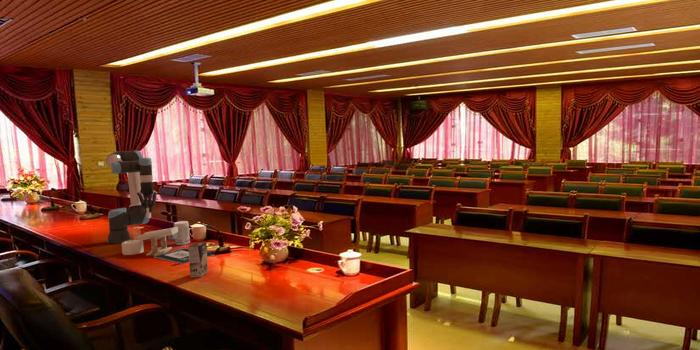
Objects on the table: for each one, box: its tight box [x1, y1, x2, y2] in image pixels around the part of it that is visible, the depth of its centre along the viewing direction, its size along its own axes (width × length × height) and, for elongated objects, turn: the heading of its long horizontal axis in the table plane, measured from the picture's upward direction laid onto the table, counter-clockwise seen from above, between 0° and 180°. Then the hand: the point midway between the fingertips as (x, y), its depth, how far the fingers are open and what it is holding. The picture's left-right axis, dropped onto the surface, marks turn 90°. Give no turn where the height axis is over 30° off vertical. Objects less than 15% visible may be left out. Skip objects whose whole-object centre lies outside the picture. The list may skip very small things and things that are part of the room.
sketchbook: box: [153, 247, 215, 265], centre depth 278 cm, size 22×30×2 cm
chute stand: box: [145, 236, 173, 257], centre depth 292 cm, size 9×17×10 cm, turn 178°
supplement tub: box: [173, 220, 191, 246], centre depth 313 cm, size 10×10×15 cm
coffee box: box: [188, 241, 209, 278], centre depth 238 cm, size 9×6×16 cm
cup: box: [121, 239, 145, 256], centre depth 292 cm, size 11×11×7 cm
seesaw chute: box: [136, 226, 178, 241], centre depth 295 cm, size 22×18×7 cm
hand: (149, 217), depth 301 cm, fingers closed
